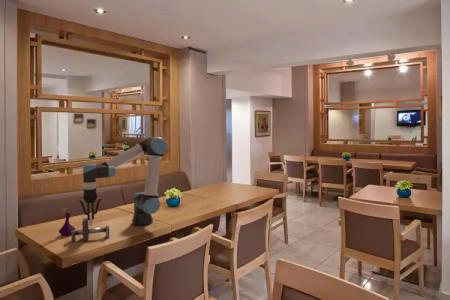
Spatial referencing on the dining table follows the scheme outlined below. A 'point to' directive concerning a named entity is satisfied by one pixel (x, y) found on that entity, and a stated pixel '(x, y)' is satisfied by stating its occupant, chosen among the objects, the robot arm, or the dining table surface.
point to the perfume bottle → (66, 225)
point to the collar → (85, 229)
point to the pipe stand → (90, 232)
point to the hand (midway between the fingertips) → (91, 224)
